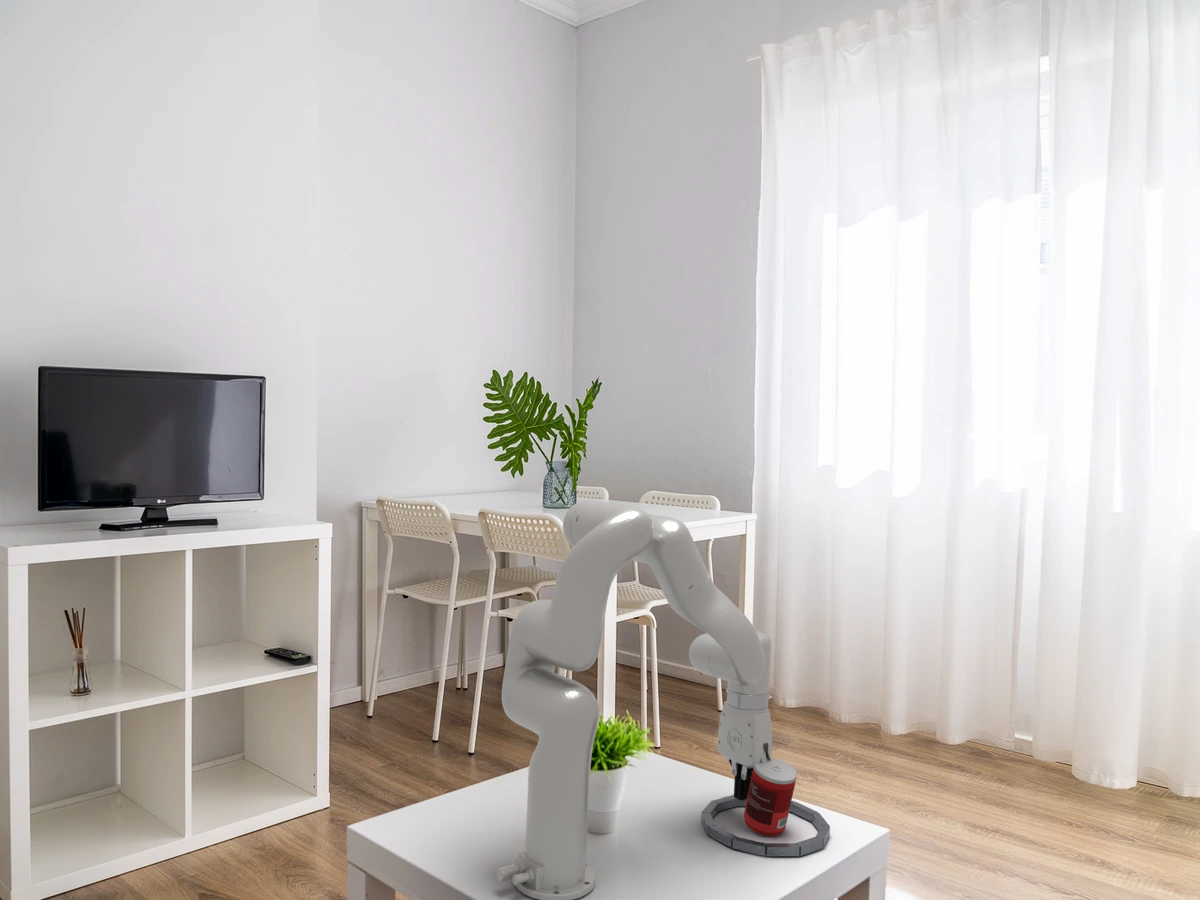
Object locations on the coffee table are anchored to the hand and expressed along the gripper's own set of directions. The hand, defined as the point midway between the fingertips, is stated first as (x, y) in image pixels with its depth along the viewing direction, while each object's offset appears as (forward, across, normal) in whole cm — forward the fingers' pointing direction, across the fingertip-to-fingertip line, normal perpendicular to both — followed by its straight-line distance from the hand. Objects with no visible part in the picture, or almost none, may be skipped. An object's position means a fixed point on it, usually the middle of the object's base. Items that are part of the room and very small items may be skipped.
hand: (743, 797), depth 171 cm
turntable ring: (+4, +6, 0) cm, 7 cm away
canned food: (+3, +6, 0) cm, 6 cm away
